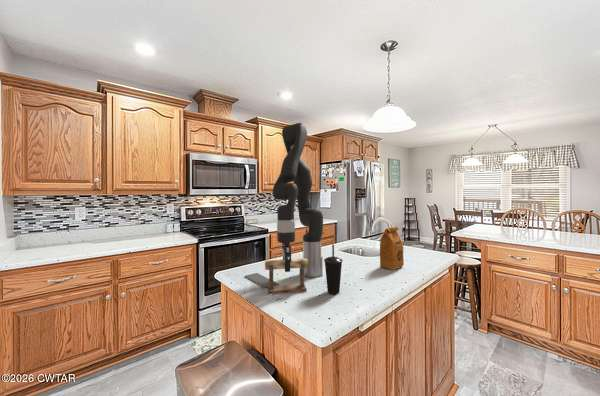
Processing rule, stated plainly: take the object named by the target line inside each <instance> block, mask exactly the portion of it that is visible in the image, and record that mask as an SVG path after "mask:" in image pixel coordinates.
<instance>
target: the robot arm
mask: <svg viewBox="0 0 600 396" xmlns="http://www.w3.org/2000/svg"><path fill="white" fill-rule="evenodd" d="M281 134H282V136H281V137H282V140H283V144H284V147H285V151H286V155H285V157H284V159H283V161H282V164H281V169H280V174H279V176H278V177H277V179H276V181H275V182H274V185H273V187H272V195H273V197H274V199H276V200H278V201H287V203H286V204H284V205H283V204H282V205H280V206H278V207H277V223H276V238H277V239H276V241H277V242H278V243H280V244H281V245H280V246H281V247H280V248H281V255H282V260H284V262H285V269H284V272H286V273H289V272H291V268H290V263H291V259H292V246H291V245H290V243H295V241H296V224H295V206H296V203H297V209H298V218H299V221H300V224H301V225H302V226H303V227H307V228H308V231H307V233H305V234H303V236H302V254H303V255H302V256H303V257H302V259H307V260H308V267H307V268H305V271H304V277H306V278H307V277H308V278H317V277H320V276H323V275H324V274H323V272H324V271H323V264H324V263H323V255H322V238H323V237H322V236H323V234H324V233H323V232H324V231H323V230H324V229H323V228H324V215H323V213H322V211H321V210H320V209H317V208H311V207H312V206H311V204H310V203H311V202H310V194H311V191H312V186H313V178H312V173H311V168H310V167H309V166H308V165H307V163H306V162H305V161H304V160H303V159H302V154H303V151H304V148H305V144H306V141H307V139H308V130H307V127H306V125H305V124H304V123H303V122H297V123H292V124H290V125H288V124H287V125H285V126H283V127H282V131H281Z"/></svg>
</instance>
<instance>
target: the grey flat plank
mask: <svg viewBox="0 0 600 396" xmlns="http://www.w3.org/2000/svg"><path fill="white" fill-rule="evenodd" d="M244 276H245V277H244V278H246V279H247V278H248V279H247V280H249V279H250V280H249V281H251V280H252V281H251V282H253V281H254V282H253V283H255V284H256V283H257V285H258V284H259V285H258V286H260V285H261V286H260V287H262V288H264V289H268V287H269V277H266V276H265V275H262V274H260V273H258V272H255V273H251V274H247V275H244ZM273 286H280V285H279V283H278V282H276V281H274V280H273Z"/></svg>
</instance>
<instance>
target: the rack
mask: <svg viewBox="0 0 600 396" xmlns="http://www.w3.org/2000/svg"><path fill="white" fill-rule="evenodd" d="M304 271H305V264H304V263H301V268H299V284H289V285H288V284H287V285H275V286H273V281H274V270H273V265H269V270H268V275H269V277H268V279H269V287H268V288H267V295H268V296H270V294H272V295H284V294H296V293H297V294H298V293H307V287H306V284H305V275H304Z"/></svg>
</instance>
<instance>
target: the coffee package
mask: <svg viewBox="0 0 600 396" xmlns="http://www.w3.org/2000/svg"><path fill="white" fill-rule="evenodd" d="M398 230H399V227H398V226H393V227H387V228H385V230H384V231H383V233H382V235H381V237H380V242H379V267H380V268H381V269H388V270H394V269H399V268H402V267H404V245H403V241H402V239H401V237H400V236H399V232H398Z"/></svg>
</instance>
